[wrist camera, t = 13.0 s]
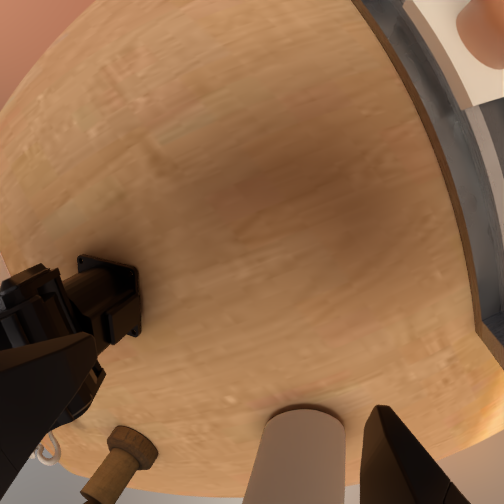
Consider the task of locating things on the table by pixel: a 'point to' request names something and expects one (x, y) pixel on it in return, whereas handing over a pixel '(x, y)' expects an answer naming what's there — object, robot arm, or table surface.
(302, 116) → the table surface
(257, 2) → the table surface
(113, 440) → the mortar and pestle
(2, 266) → the milk
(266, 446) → the can
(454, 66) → the carriage
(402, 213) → the table surface
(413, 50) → the rail
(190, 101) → the table surface
